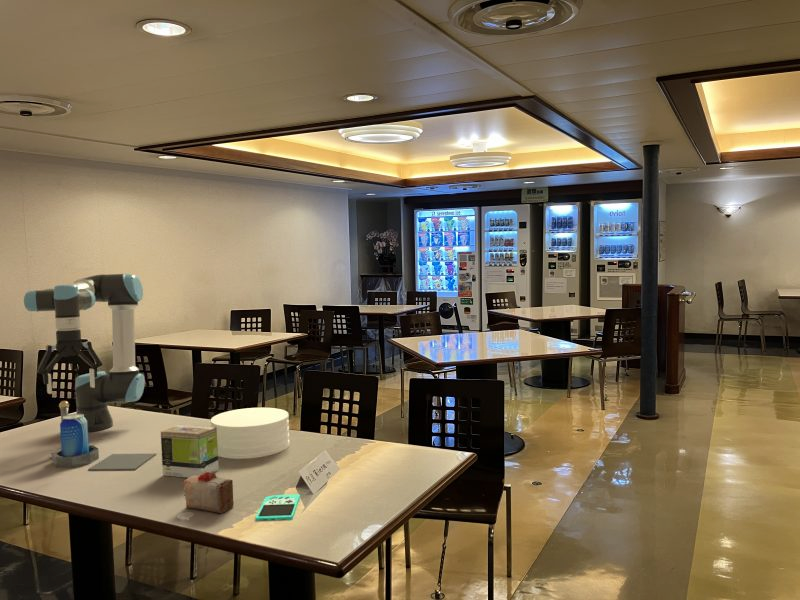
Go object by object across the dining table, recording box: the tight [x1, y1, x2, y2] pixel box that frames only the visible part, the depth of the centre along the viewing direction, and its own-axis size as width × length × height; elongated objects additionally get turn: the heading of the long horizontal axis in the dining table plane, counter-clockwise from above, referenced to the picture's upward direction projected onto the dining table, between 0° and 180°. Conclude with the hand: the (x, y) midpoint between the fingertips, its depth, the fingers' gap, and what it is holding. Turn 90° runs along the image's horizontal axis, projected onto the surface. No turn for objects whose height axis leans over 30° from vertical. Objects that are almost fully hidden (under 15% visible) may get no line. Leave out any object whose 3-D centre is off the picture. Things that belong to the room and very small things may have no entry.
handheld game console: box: [255, 493, 301, 521], centre depth 170 cm, size 10×16×1 cm, turn 2°
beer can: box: [59, 413, 89, 456], centre depth 215 cm, size 8×8×16 cm
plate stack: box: [210, 407, 291, 460], centre depth 227 cm, size 28×28×12 cm
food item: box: [183, 471, 235, 514], centre depth 171 cm, size 14×8×10 cm, turn 67°
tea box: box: [160, 424, 219, 479], centre depth 200 cm, size 15×10×15 cm
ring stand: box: [51, 400, 100, 469], centre depth 217 cm, size 18×18×20 cm
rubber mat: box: [87, 453, 157, 471], centre depth 212 cm, size 16×16×1 cm
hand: (71, 390), depth 213 cm, fingers open, 13 cm apart
